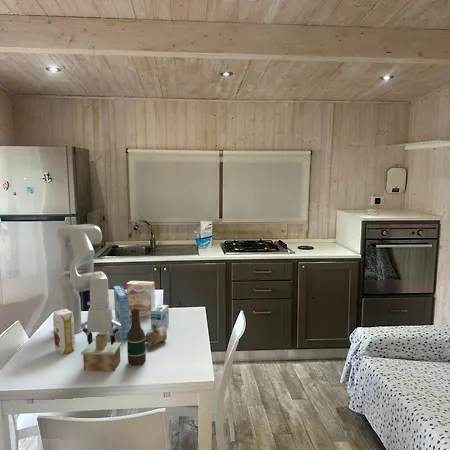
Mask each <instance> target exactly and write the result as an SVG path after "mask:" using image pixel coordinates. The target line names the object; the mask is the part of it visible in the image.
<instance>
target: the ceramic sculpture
mask: <svg viewBox="0 0 450 450" xmlns="http://www.w3.org/2000/svg"><path fill="white" fill-rule="evenodd" d="M167 330H168V329H167V326H163V327H160V328H157V327H153V329H152V330H151V329H150V330H148V331H147V332H146V334H145V344H146V343H147V344H148V345H147V348H155V347H156V346H157V345H158V344H159V343H161V342H166V341H167V339H168V335H167V334H168V333H167V332H168V331H167Z"/></svg>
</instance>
